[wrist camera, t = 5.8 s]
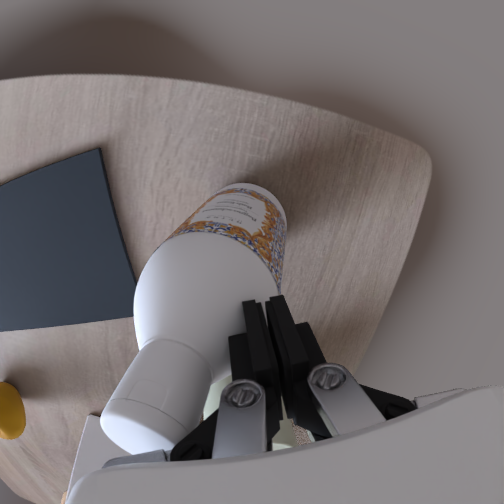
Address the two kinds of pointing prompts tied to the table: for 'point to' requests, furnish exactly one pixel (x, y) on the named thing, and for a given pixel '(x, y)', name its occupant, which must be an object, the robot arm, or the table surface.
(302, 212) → the table surface
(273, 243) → the bath foam
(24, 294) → the mat
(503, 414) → the robot arm
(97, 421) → the gable box
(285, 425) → the can
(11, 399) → the apple
